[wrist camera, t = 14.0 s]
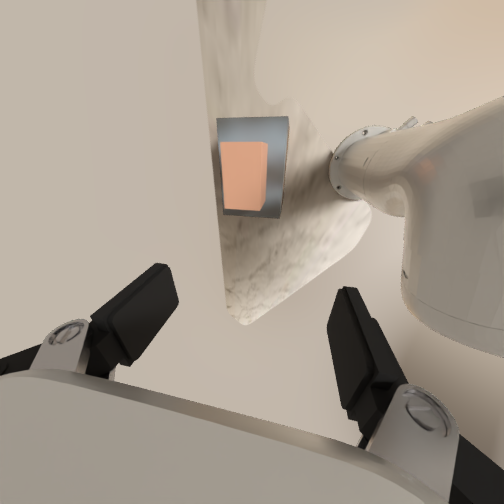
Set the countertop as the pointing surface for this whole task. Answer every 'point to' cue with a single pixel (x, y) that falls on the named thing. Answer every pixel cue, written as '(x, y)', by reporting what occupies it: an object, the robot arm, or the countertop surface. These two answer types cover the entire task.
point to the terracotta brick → (244, 174)
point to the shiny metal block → (277, 139)
